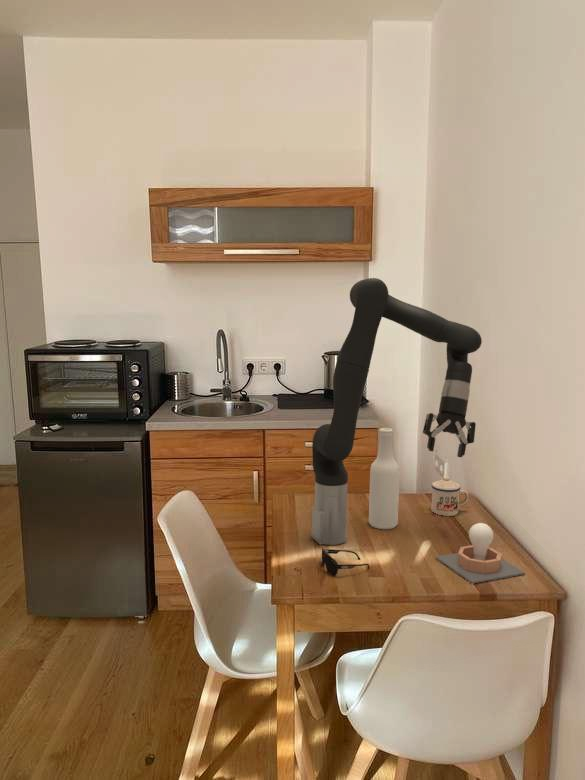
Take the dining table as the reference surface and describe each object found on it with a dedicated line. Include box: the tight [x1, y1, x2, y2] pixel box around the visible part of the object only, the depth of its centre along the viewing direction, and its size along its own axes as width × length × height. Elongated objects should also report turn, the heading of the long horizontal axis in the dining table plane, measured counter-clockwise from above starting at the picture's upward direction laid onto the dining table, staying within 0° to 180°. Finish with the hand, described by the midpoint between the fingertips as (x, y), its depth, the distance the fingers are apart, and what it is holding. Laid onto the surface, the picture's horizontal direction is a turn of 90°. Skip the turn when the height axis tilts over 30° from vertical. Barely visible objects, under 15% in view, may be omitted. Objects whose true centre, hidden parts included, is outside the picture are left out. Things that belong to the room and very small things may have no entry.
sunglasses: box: [321, 547, 370, 576], centre depth 166 cm, size 10×12×5 cm
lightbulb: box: [468, 522, 494, 561], centre depth 166 cm, size 6×6×11 cm
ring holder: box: [435, 544, 526, 584], centre depth 166 cm, size 16×16×4 cm
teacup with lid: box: [430, 476, 469, 517], centre depth 207 cm, size 12×9×12 cm
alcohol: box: [368, 427, 400, 530], centre depth 193 cm, size 9×9×30 cm
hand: (445, 454), depth 180 cm, fingers open, 8 cm apart
